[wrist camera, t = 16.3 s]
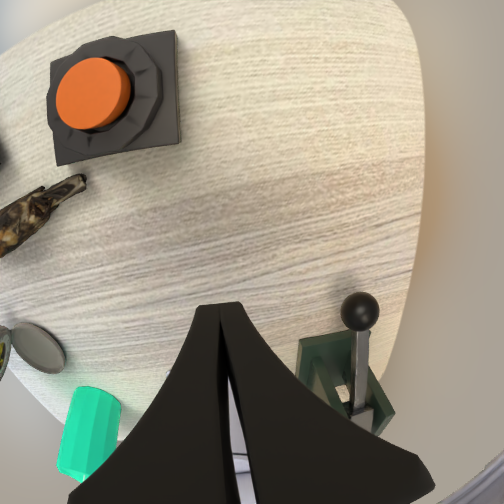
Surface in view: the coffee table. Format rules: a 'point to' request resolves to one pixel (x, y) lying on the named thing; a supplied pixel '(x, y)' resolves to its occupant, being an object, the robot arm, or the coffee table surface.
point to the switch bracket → (338, 375)
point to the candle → (88, 432)
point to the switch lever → (359, 354)
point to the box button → (92, 94)
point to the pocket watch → (31, 348)
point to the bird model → (34, 211)
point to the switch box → (139, 105)
